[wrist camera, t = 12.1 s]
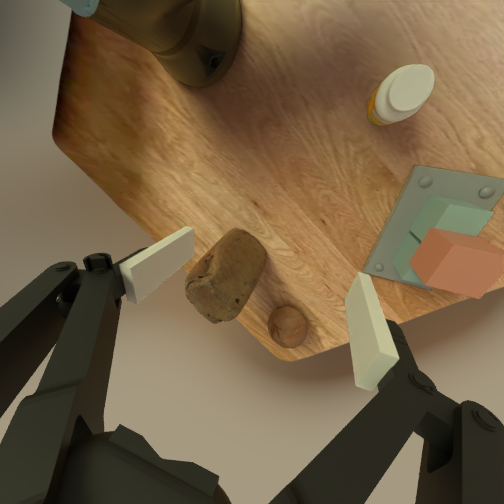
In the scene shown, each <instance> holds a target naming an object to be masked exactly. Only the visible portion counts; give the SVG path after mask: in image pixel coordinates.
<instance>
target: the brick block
mask: <svg viewBox="0 0 504 504" xmlns="http://www.w3.org/2000/svg"><path fill="white" fill-rule="evenodd" d="M409 264H410V265H411V266H412V268H413V269H414V270H415V272H416V273H417V275H418V276H419V277H420V279H421V280H422V281H423V283H424V284H425V285H427V286H431V287H434V288H438V289H442V290H446V291H450V292H454V293H457V294H461V295H465V296H469V297H473V298H477V299H480V298H481V297H482V295H484V293H485V292H486V291H487V290H488V289H489V288H490V287H491V286H492V285H493V284H494V283H495V281H496V280H497V279H498V278H499V277H500V276H501V275H502V274H503V273H504V251H503V250H502V249H500V248H498V247H496V246H495V245H493V244H491V243H490V242H488V241H486V240H484V239H483V238H481V237H476V236H472V235H467V234H462V233H457V232H452V231H448V230H443V229H438V228H433V227H430V229H429V231H428V232H427V234H426V236H425V237H424V239H423V240H422V242H421V244H420V245H419V247H418V249H417V250H416V252H415V253H414V255H413V257H412V258H411V260H410V262H409Z"/></svg>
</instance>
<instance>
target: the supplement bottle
mask: <svg viewBox="0 0 504 504" xmlns="http://www.w3.org/2000/svg"><path fill="white" fill-rule="evenodd" d="M434 82H435V77H434V73H433V71H432V69H431V68H430V67H428V66H427V65H424V64H416V65H413V64H412V65H406V66H403V67H400V68H398V69H397V70H395V71H394V72H392V73H391V74H390V75H389V76H388V77H387V78H386V79H385V80H384V81H383V82H382V83H381V84H380V85H379V86H378V87H377V88H376V90H375V91H374V92H373V93H372V95H371V96H370V98H369V100H368V104H367V116H368V118H369V120H370V121H371V122H372V123H373V124H375V125H379V126H385V125H390V124H393V123H396V122H399V121H402V120H404V119H406V118H408V117H410V116H412V115H413V114H414V113H416V112H417V111H418V110H419V109H420V108H421V107H422V105H423V104H424V103H425V101H426V99H427V98H428V97H429V95H430V94H431V92H432V90H433V87H434Z"/></svg>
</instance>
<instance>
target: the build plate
mask: <svg viewBox="0 0 504 504" xmlns="http://www.w3.org/2000/svg"><path fill="white" fill-rule="evenodd" d="M503 193H504V179H502V178H496V177H489V176H483V175H477V174H471V173H464V172H458V171H452V170H446V169H439V168H433V167H427V166H421V165H414V167H413V169H412V171H411V173H410V175H409V177H408V179H407V181H406V183H405V185H404V187H403V189H402V191H401V193H400V195H399V197H398V199H397V201H396V203H395V205H394V207H393V209H392V211H391V213H390V215H389V217H388V219H387V221H386V223H385V225H384V227H383V229H382V231H381V233H380V235H379V237H378V239H377V241H376V243H375V245H374V247H373V249H372V251H371V253H370V255H369V257H368V260H367V262H366V264H365V266H364V268H363V272H364V273H368V274H371V275H375V276H379V277H383V278H386V279H390V280H394V281H398V282H401V283H405V284H409V285H413V286H416V287H420V288H424V289H428V290H432V288H434V287H431V286H427V285H425V284H424V283H423V281H422V280H421V279H420V277H419V276H418V275H417V273H416V272H415V270H414V269H413V268H412V266H411V265H410V264H409V262H410V260H411V258H412V257H413V255H414V253H415V252H416V250H417V249H418V247H419V245H420V244H421V242H422V240H423V239H424V237H425V236H426V234H427V232H428V231H429V229H430V227H433V228H438V229H443V230H448V231H452V232H457V233H462V234H467V235H472V236H477V235H478V233H479V232H480V231H481V229H482V228H483V227H484V226H485V224H486V223H487V222H488V220H489V219H490V218H491V216H492V215H493V214H494V212H492V211H490V210H491V209H492V208H493V206H494V205H495V204H496V202H497V201H498V200H499V198H500V197H501V196H502V194H503Z"/></svg>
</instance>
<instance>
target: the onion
mask: <svg viewBox="0 0 504 504" xmlns="http://www.w3.org/2000/svg"><path fill="white" fill-rule="evenodd" d="M268 331H269V333H270V335H271V337H272V339H273V340H274V341H275V342H276V343H277V344H279V345H280V346H282V347H285V348H295V347H297V346H299V345H300V344H302V342H303V341H304V340H305V338H306V335H307V331H308V328H307V323H306V320H305V319H304V317H303V314H301V313H300V312H299V311H298V310H296V309H294V308H293V307H292V306H289V305H287V306H285V307H280V308H278V309H276V310H275V311H274V312H273V313H272V314H271V315H270V317H269V320H268Z"/></svg>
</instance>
